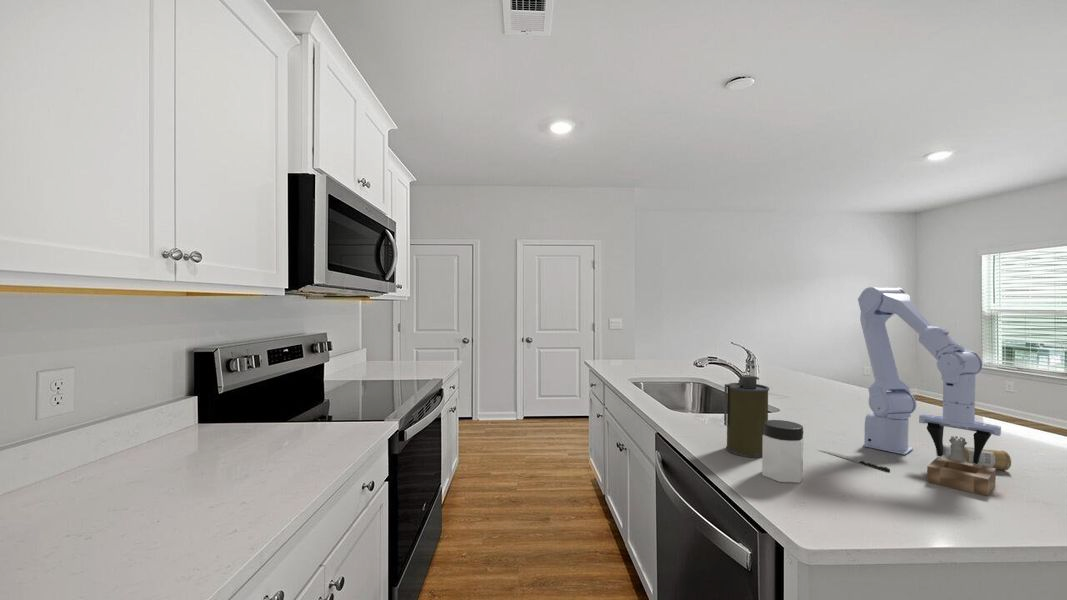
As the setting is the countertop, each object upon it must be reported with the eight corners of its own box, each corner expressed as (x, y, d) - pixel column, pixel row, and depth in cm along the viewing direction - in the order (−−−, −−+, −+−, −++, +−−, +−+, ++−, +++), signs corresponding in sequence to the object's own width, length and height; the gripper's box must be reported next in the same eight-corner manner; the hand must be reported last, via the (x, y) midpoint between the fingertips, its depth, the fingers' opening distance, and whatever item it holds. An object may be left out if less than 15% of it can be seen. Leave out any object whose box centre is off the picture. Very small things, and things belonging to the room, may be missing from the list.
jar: (812, 480, 109) (813, 427, 109) (788, 486, 106) (788, 431, 105) (777, 467, 117) (777, 417, 117) (753, 472, 114) (754, 421, 114)
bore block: (927, 481, 109) (927, 466, 109) (937, 471, 115) (937, 456, 115) (987, 496, 101) (988, 479, 101) (995, 484, 107) (995, 468, 107)
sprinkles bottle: (1001, 448, 118) (936, 440, 122) (1014, 455, 114) (946, 447, 117) (998, 465, 119) (933, 457, 122) (1010, 474, 114) (943, 465, 118)
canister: (760, 446, 134) (760, 373, 134) (775, 458, 123) (776, 380, 123) (719, 444, 135) (720, 372, 135) (731, 456, 125) (731, 379, 124)
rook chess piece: (940, 468, 117) (940, 435, 117) (957, 467, 118) (957, 434, 118) (958, 474, 113) (958, 440, 113) (975, 474, 113) (976, 440, 113)
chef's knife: (820, 449, 133) (812, 450, 132) (820, 445, 133) (812, 446, 132) (896, 472, 115) (888, 473, 114) (896, 467, 115) (889, 468, 114)
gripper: (916, 399, 118) (915, 454, 118) (998, 410, 107) (997, 471, 107) (923, 395, 123) (922, 448, 123) (1002, 405, 111) (1001, 464, 112)
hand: (957, 459), depth 115 cm, fingers open, 6 cm apart
